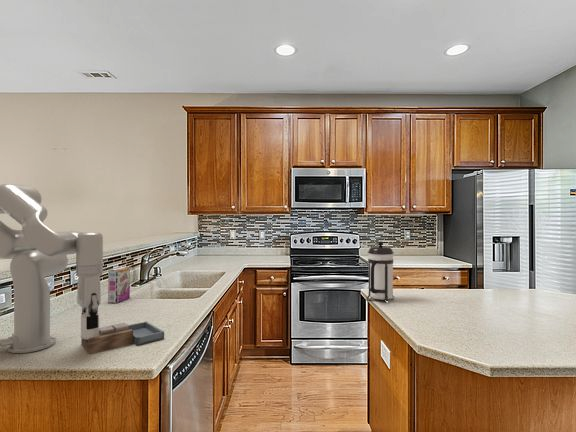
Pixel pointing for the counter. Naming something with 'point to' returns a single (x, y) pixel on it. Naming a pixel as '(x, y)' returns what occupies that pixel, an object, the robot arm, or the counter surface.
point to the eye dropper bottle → (91, 332)
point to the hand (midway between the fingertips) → (89, 325)
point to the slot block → (108, 341)
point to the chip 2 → (120, 327)
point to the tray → (145, 333)
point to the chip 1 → (106, 330)
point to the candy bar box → (119, 284)
